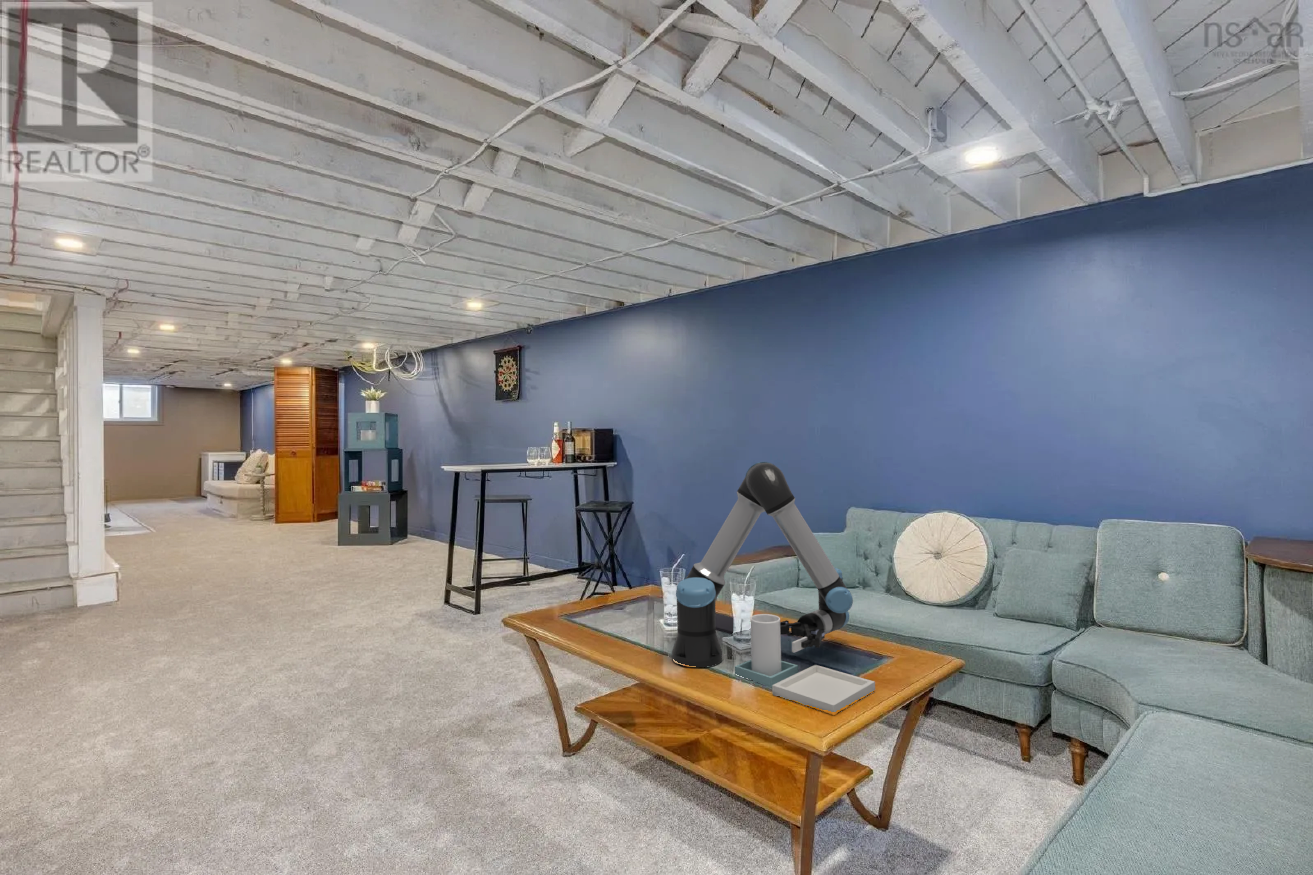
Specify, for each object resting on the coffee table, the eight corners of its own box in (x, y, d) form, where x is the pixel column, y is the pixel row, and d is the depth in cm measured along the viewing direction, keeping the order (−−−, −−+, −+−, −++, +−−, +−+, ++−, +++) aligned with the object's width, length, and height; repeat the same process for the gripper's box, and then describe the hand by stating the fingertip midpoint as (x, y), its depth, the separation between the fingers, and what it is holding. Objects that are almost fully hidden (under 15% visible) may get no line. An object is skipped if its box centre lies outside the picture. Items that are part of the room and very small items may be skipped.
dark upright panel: (688, 623, 231) (733, 636, 216) (687, 619, 231) (733, 631, 216) (711, 616, 240) (756, 628, 224) (711, 612, 240) (756, 623, 224)
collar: (771, 687, 170) (771, 678, 170) (734, 675, 180) (734, 666, 180) (798, 674, 179) (798, 665, 179) (762, 663, 188) (762, 654, 188)
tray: (834, 715, 153) (833, 705, 153) (772, 694, 166) (772, 685, 166) (875, 691, 166) (874, 681, 166) (815, 673, 179) (815, 664, 179)
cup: (750, 669, 184) (748, 614, 183) (778, 669, 183) (777, 613, 183) (753, 680, 175) (752, 622, 175) (783, 680, 175) (782, 622, 175)
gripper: (851, 646, 186) (811, 666, 171) (780, 629, 204) (738, 645, 189) (851, 620, 186) (810, 638, 171) (779, 605, 204) (737, 620, 189)
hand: (772, 642), depth 180 cm, fingers open, 13 cm apart
